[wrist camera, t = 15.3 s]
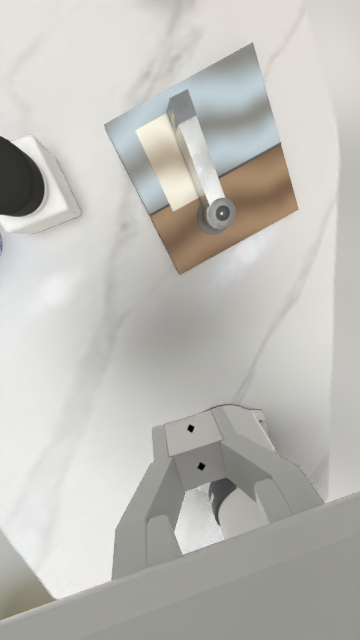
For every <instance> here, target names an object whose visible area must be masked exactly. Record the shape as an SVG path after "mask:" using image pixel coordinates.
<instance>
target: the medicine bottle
mask: <svg viewBox="0 0 360 640" xmlns="http://www.w3.org/2000/svg"><path fill="white" fill-rule="evenodd" d="M80 215H81V211H80V208H79V206H78V204H77V202H76V200H75V198H74V196H73V194H72V192H71V190H70V188H69V186H68V183H67V181H66V179H65V177H64V175H63V173H62V171H61V169H60V167H59V165H58V163H57V161H56V159H55V157H54V156H53V155H52V154H51V153H50V152H49V151H48V150H47V149H46V148H45V147H44V146H43V145H42V144H41V143H40V142H39V141H38V140H37V139H36V138H35V137H34V136H32V135H26V136H23V137H21V138H18V139H15V140H13V141H8V140H7V139H5V138H3V137H1V136H0V224H1V226H2V227H3V229H4V230H5V232H7V233H20V234H35V233H37V232H40V231H42V230H45V229H48V228H50V227H53V226H55V225H58V224H60V223H63V222H65V221H68V220H71V219H73V218H76V217H78V216H80Z"/></svg>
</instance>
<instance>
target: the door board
mask: <svg viewBox="0 0 360 640" xmlns="http://www.w3.org/2000/svg"><path fill="white" fill-rule="evenodd" d="M187 89H188V91H189V94H190V97H191V99H192V102H193V105H194V108H195V111H196V114H197V115H196V116H197V119H198V121H199V124H200V127H201V130H202V133H203V136H204V139H205V141H206V144H207V147H208V150H209V153H210V156H211V158H212V161H213V164H214V167H215V170H216V173H217V176H218V178H219V181H220V184H221V187H222V190H223V193H224V195H225V198H227V199H229V200H231V201H232V202H233V204H234V206H235V209H236V216H235V219H234V221H233V223H232V224H231V225H230V226H228V227H226V228H222V229H211V228H209V227H207V226H206V225H205V223H204V221H203V210H204V207H203V205H202V202H201V200H200V197H199V194H198V192H197V189H196V187H195V184H194V182H193V179H192V176H191V174H190V171H189V169H188V166H187V164H186V161H185V158H184V156H183V153H182V151H181V148H180V146H179V143H178V140H177V138H176V135H175V133H174V130H173V128H172V125H171V122H170V120H169V117H168V115H167V112H166V111H167V107H168V103H169V99H170V98H171V97H173V96H175V95H177V94H179V93H181V92H183V91H185V90H187ZM104 126H105V129H106V131H107V133H108V135H109V137H110V139H111V141H112V143H113V145H114V147H115V149H116V151H117V153H118V155H119V157H120V159H121V161H122V163H123V165H124V167H125V169H126V170H127V172H128V174H129V176H130V178H131V180H132V182H133V184H134V186H135V188H136V190H137V192H138V194H139V196H140V198H141V200H142V202H143V204H144V206H145V208H146V210H147V212H148V214H149V216H150V218H151V220H152V222H153V224H154V226H155V228H156V229H157V231H158V233H159V235H160V237H161V239H162V241H163V243H164V245H165V247H166V249H167V251H168V253H169V255H170V257H171V259H172V261H173V263H174V265H175V267H176V269H177V271H178V273H179V274H182V273H184V272H185V271H187V270H189V269H191V268H193V267H195V266H196V265H198V264H200V263H202V262H204V261H206V260H207V259H209V258H211V257H213V256H215V255H216V254H218V253H220V252H222V251H224V250H226V249H227V248H229V247H231V246H233V245H235V244H236V243H238V242H240V241H242V240H244V239H246V238H247V237H249V236H251V235H253V234H255V233H257V232H258V231H260V230H262V229H264V228H266V227H267V226H269V225H271V224H273V223H275V222H277V221H278V220H280V219H282V218H284V217H286V216H287V215H289V214H291V213H293V212H295V211H297V210H298V206H297V202H296V198H295V195H294V191H293V187H292V184H291V180H290V176H289V173H288V169H287V165H286V162H285V158H284V154H283V151H282V147H281V142H280V140H279V136H278V132H277V129H276V125H275V121H274V118H273V114H272V110H271V107H270V103H269V99H268V96H267V92H266V88H265V85H264V81H263V78H262V74H261V70H260V67H259V63H258V59H257V56H256V52H255V48H254V45H253V42H252V43H251V44H249V45H247V46H245V47H243V48H242V49H240V50H238V51H236V52H234V53H233V54H231V55H229V56H227V57H225V58H224V59H222V60H220V61H218V62H216V63H215V64H213V65H211V66H209V67H207V68H206V69H204V70H202V71H200V72H198V73H196V74H195V75H193V76H191V77H189V78H187V79H186V80H184V81H182V82H180V83H178V84H177V85H175V86H173V87H171V88H169V89H168V90H166V91H164V92H162V93H160V94H159V95H157V96H155V97H153V98H151V99H150V100H148V101H146V102H144V103H142V104H140V105H139V106H137V107H135V108H133V109H131V110H130V111H128V112H126V113H124V114H122V115H121V116H119V117H117V118H115V119H113V120H112V121H110V122H108V123H106V124H104Z"/></svg>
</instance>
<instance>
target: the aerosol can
mask: <svg viewBox="0 0 360 640" xmlns="http://www.w3.org/2000/svg"><path fill="white" fill-rule="evenodd" d="M1 252H2V238H1V235H0V254H1Z"/></svg>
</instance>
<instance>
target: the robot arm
mask: <svg viewBox="0 0 360 640" xmlns="http://www.w3.org/2000/svg"><path fill="white" fill-rule="evenodd" d="M152 440H153V453H154V463H151V464H150V465H149V467H148V469H147V471H146V473H145V475H144V477H143V479H142V480H141V482H140V484H139V486H138V488H137V490H136V492H135V494H134V495H133V497H132V499H131V501H130V503H129V505H128V507H127V509H126V510H125V512H124V514H123V516H122V518H121V520H120V522H119V524H118V525H117V527H116V530H115V543H114V555H113V568H112V580H111V581H109V582H106V583H104V584H101V585H98V586H95V587H92V588H90V589H87V590H84V591H81V592H79V593H76V594H73V595H70V596H67V597H65V598H62V599H59V600H56V601H54V602H51V603H48V604H45V605H43V606H40V607H37V608H34V609H31V610H29V611H26V612H23V613H20V614H18V615H15V616H12V617H9V618H7V619H4V620H1V621H0V640H360V491H359V492H356V493H353V494H351V495H348V496H345V497H342V498H340V499H337V500H334V501H331V502H329V503H326V504H325V503H324V501H323V500H322V498H321V497H320V496H319V494H318V493H317V491H316V490H315V488H314V487H313V486H312V484H311V483H310V481H309V480H308V479H307V477H306V476H305V474H304V473H303V472H302V470H301V469H300V467H299V466H297V465H295V464H293V463H292V462H290V461H288V460H286V459H284V458H283V457H281V456H279V455H278V454H277V451H276V449H275V447H274V446H273V444H272V443H271V441H270V439H269V434H268V429H267V423H266V418H265V415H264V413H263V411H262V410H248V409H245V408H242V407H239V406H234V405H225V406H219V407H216V408H213V409H211V410H208V411H205V412H202V413H199V414H196V415H193V416H190V417H187V418H183V419H180V420H176V421H173V422H169V423H166V424H163V425H160V426H156V427H153V428H152ZM195 487H198V489H199V490H201V491H202V492H203V493H204V494H206V495H208V496H209V499H210V504H211V508H212V512H213V514H214V516H215V519H216V521H217V523H218V524H219V525H220V526H221V529H222V533H223V536H224V540H223V541H220V542H218V543H215V544H212V545H209V546H206V547H204V548H201V549H198V550H195V551H193V552H190V553H187V554H184V555H182V552H181V550H180V547H179V544H178V542H177V539H176V537H175V534H174V530H175V527H176V523H177V520H178V516H179V513H180V509H181V506H182V502H183V499H184V495H185V491H187V490H190V489H193V488H195Z"/></svg>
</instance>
